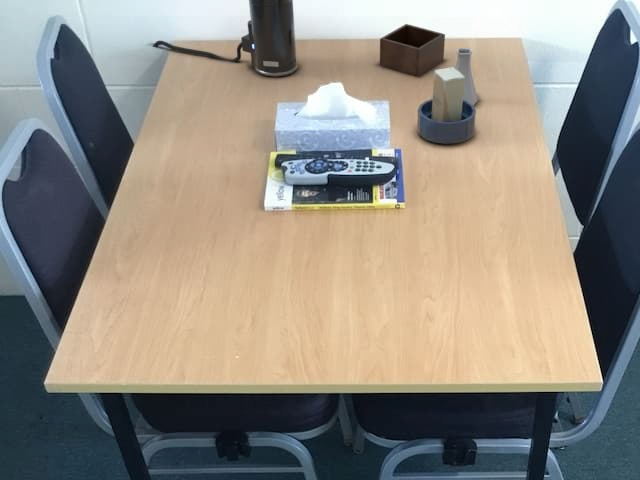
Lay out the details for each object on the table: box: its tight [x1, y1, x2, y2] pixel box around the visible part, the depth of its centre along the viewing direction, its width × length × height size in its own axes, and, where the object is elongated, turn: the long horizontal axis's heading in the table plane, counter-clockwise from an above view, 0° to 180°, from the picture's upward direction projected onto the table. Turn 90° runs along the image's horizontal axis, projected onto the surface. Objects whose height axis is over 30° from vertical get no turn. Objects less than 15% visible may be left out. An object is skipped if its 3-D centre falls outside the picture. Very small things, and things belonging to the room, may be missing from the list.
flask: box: [454, 47, 479, 107], centre depth 177 cm, size 7×7×10 cm
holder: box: [379, 23, 446, 77], centre depth 191 cm, size 10×10×6 cm
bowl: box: [416, 98, 477, 145], centre depth 170 cm, size 11×11×4 cm
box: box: [431, 66, 465, 122], centre depth 167 cm, size 5×4×11 cm
